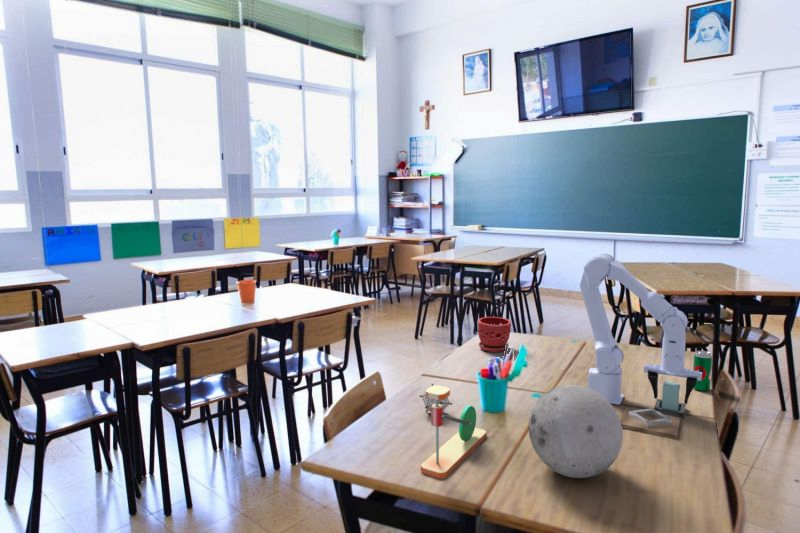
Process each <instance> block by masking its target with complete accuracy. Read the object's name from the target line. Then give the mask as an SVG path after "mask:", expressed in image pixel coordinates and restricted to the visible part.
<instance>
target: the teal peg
mask: <svg viewBox="0 0 800 533" xmlns="http://www.w3.org/2000/svg"><path fill="white" fill-rule="evenodd" d="M680 385H681V383H680V382H673V381H667V380H664V381H663V384H662V394H661V395H662V396H661V400H662V406H661V408H664V409H670V410H675V411H679V409H678V406H679V403H680V388H681V386H680Z"/></svg>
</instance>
